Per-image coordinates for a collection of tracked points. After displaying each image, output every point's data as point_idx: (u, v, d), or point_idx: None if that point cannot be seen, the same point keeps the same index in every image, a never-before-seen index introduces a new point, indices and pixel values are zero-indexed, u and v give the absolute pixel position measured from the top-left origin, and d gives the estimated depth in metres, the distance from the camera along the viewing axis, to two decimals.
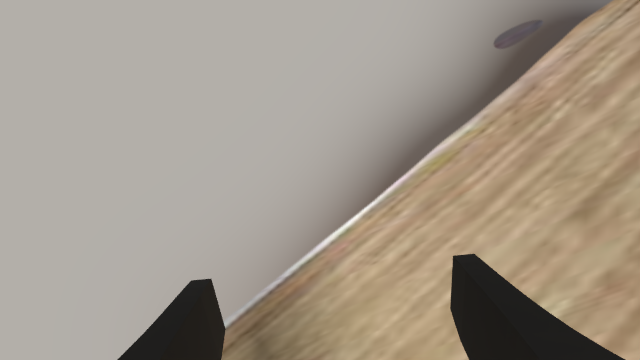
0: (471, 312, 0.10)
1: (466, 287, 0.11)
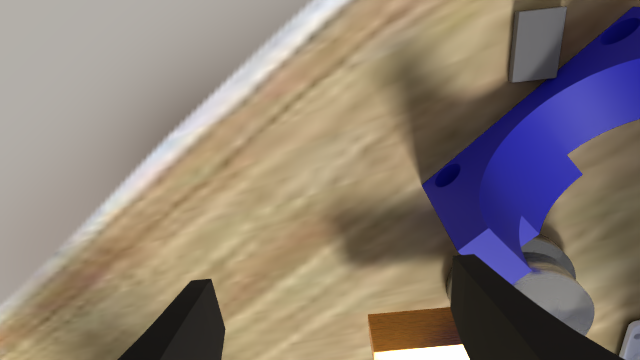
0: (471, 312, 0.10)
1: (466, 287, 0.11)
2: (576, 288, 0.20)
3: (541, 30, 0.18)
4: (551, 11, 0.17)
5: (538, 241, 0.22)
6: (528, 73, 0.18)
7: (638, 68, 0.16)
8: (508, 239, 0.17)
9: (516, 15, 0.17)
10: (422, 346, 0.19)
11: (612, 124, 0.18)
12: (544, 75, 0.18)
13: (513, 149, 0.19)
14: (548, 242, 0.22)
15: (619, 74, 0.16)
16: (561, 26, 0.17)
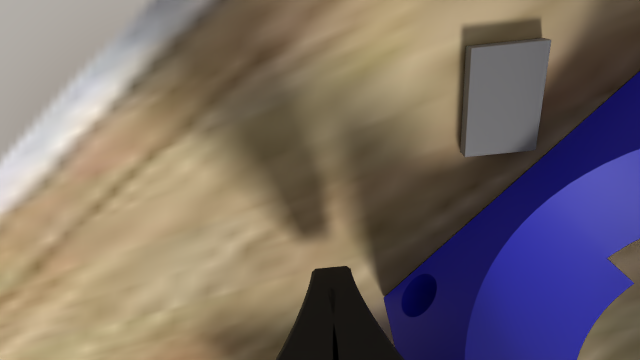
0: None
1: None
2: None
3: (509, 77, 0.11)
4: (525, 47, 0.10)
5: None
6: (490, 143, 0.11)
7: None
8: None
9: (467, 52, 0.10)
10: None
11: None
12: (517, 147, 0.11)
13: (518, 261, 0.11)
14: None
15: None
16: (542, 71, 0.10)
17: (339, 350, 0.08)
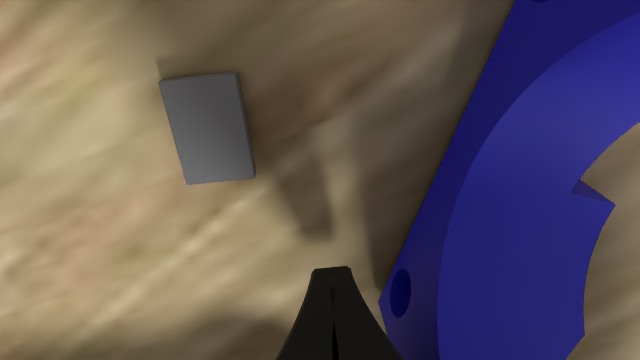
0: None
1: None
2: None
3: (205, 109, 0.11)
4: (211, 80, 0.10)
5: None
6: (207, 172, 0.12)
7: (619, 40, 0.07)
8: None
9: None
10: None
11: (623, 124, 0.09)
12: (235, 175, 0.12)
13: (472, 232, 0.11)
14: None
15: (587, 59, 0.08)
16: (235, 103, 0.11)
17: (339, 350, 0.08)
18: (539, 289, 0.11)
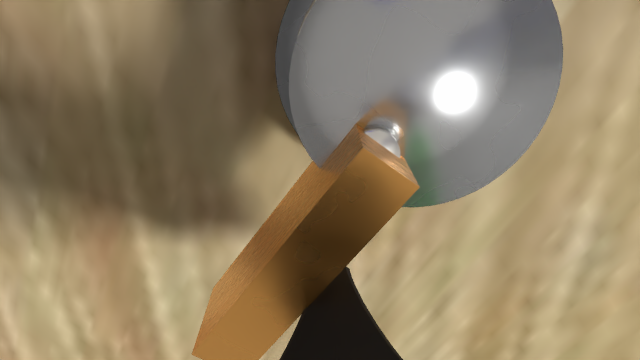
0: None
1: None
2: None
3: None
4: None
5: None
6: None
7: None
8: None
9: None
10: (240, 293, 0.10)
11: None
12: None
13: None
14: None
15: None
16: None
17: (338, 350, 0.08)
18: None
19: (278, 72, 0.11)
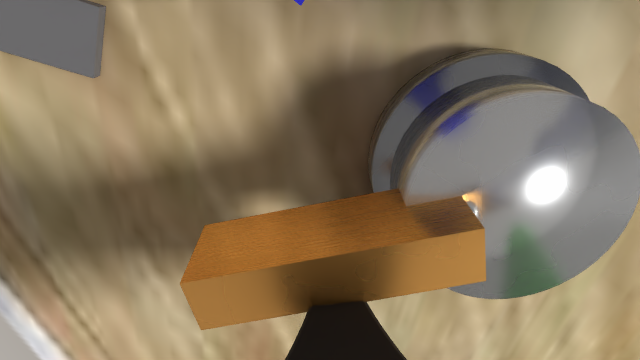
0: None
1: None
2: (599, 115, 0.09)
3: (14, 16, 0.11)
4: None
5: (398, 107, 0.12)
6: (82, 51, 0.11)
7: None
8: None
9: None
10: (279, 262, 0.09)
11: None
12: (92, 25, 0.11)
13: None
14: (415, 85, 0.12)
15: None
16: None
17: (341, 350, 0.08)
18: None
19: None
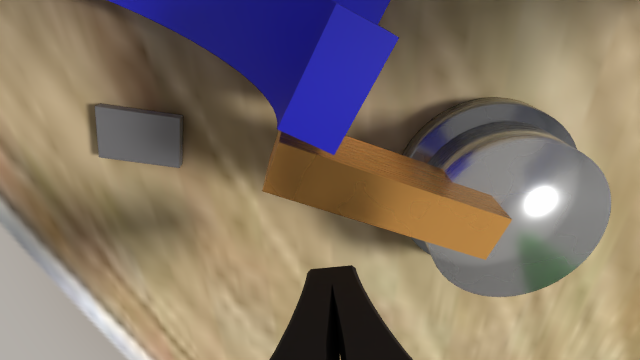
0: (337, 324, 0.11)
1: (334, 299, 0.11)
2: (602, 187, 0.13)
3: (120, 134, 0.15)
4: (99, 123, 0.15)
5: (412, 156, 0.15)
6: (170, 150, 0.15)
7: None
8: (308, 42, 0.10)
9: None
10: (363, 168, 0.11)
11: None
12: (175, 131, 0.15)
13: (209, 24, 0.12)
14: (423, 138, 0.15)
15: None
16: (116, 112, 0.15)
17: (346, 349, 0.08)
18: None
19: None
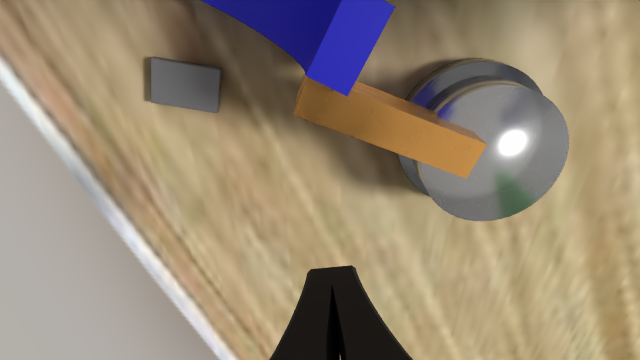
0: (337, 324, 0.11)
1: (334, 299, 0.11)
2: (561, 126, 0.16)
3: (170, 83, 0.18)
4: (153, 72, 0.18)
5: None
6: (210, 97, 0.18)
7: None
8: (328, 12, 0.13)
9: None
10: (371, 98, 0.14)
11: None
12: (216, 81, 0.18)
13: (248, 4, 0.16)
14: (419, 90, 0.18)
15: None
16: (168, 64, 0.18)
17: (346, 349, 0.08)
18: None
19: (405, 169, 0.20)
